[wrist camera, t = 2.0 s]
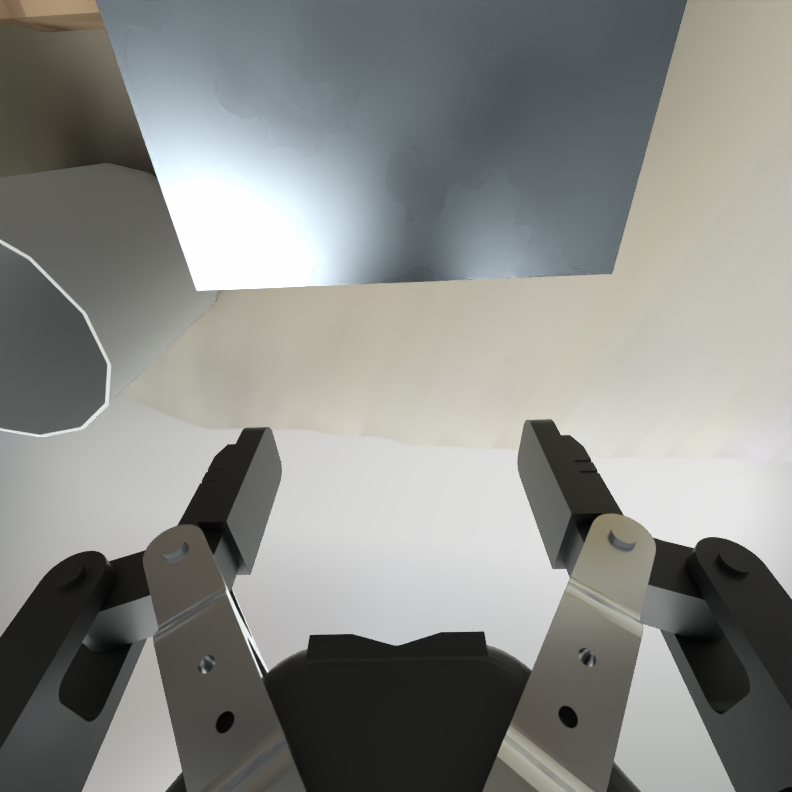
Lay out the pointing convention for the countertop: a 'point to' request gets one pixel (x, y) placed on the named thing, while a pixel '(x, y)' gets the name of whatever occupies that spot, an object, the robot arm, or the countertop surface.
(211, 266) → the block
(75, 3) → the frame
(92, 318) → the cup
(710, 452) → the countertop surface
